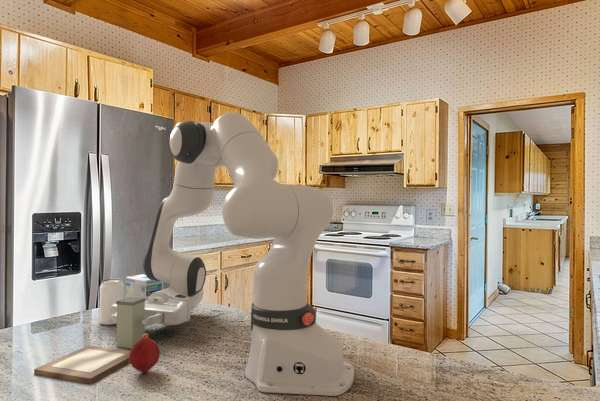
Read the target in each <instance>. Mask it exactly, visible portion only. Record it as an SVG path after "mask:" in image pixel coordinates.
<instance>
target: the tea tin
mask: <svg viewBox="0 0 600 401" xmlns="http://www.w3.org/2000/svg"><path fill="white" fill-rule="evenodd" d="M116 304H117V324H116V347H119V348H125V349H126V348H127V349H131V348H132V347H133V345H134V344H135V343H136V342H137V341H138V340H139V339H141V338H142V336H143V335H144V334H146V333H145V326H144V325H142V319H143V318H145V298H141V297H130V296H129V297H126V296H125V297H124V298H123V299H120V300H117V301H116Z"/></svg>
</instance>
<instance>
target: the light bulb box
mask: <svg viewBox="0 0 600 401" xmlns="http://www.w3.org/2000/svg"><path fill="white" fill-rule="evenodd" d="M163 289H164V282H162V281H156V280H151V279H149V278H148V277H147V276H146V274H145V273H142V274H136V275H130V276H126V277H125V298H126V297H129V296H130V297H141V298H145V301H147V299H148V298H149V296H150V295H151V294H153V293H154V292H157V291H160V290H163Z"/></svg>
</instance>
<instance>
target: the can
mask: <svg viewBox="0 0 600 401" xmlns="http://www.w3.org/2000/svg"><path fill="white" fill-rule="evenodd" d="M123 281H124V279H123V278H107V279H102V280H101V284H100V285H99V324H100V325H103V326H114V325H117V322H111V306H112V305H113V304H115V303H116V301H117V300H120V299H123V298H125V283H124V282H123Z"/></svg>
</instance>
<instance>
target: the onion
mask: <svg viewBox="0 0 600 401" xmlns="http://www.w3.org/2000/svg"><path fill="white" fill-rule="evenodd" d="M129 351H130V354H129V360H130V362H129V363H130V365H131V367H132V368H133V369H134V370H135V371H138V372H140V373H143V374H146V373H148V372H149V371H150V370H151V369H153V367H154V366H155V365H156V364H158V361H159V359H160V355H161V352H160V351H161V350H160V346H159V345H158V344H157V342H156V341H155V340H153V339H151V338H150V334H149V333H145V334H144V335H143V336H142V338H141V339H139V340H138V341H137V342H136V343H135V344H134V345H133V347H132V348H130V350H129Z"/></svg>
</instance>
